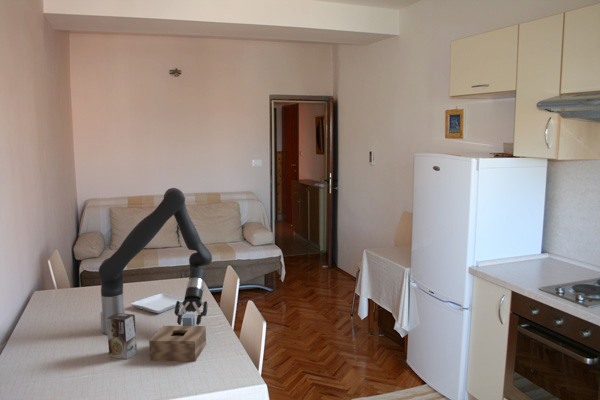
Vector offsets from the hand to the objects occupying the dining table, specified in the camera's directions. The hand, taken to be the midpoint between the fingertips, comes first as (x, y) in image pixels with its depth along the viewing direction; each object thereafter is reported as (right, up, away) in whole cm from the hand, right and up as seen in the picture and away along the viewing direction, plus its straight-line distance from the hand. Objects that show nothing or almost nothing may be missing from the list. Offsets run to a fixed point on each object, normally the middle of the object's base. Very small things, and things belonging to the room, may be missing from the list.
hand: (188, 324), depth 209 cm
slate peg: (0, -6, +1) cm, 7 cm away
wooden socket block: (-1, -8, -13) cm, 15 cm away
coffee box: (-23, -9, -14) cm, 28 cm away
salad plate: (-25, -3, +45) cm, 51 cm away
